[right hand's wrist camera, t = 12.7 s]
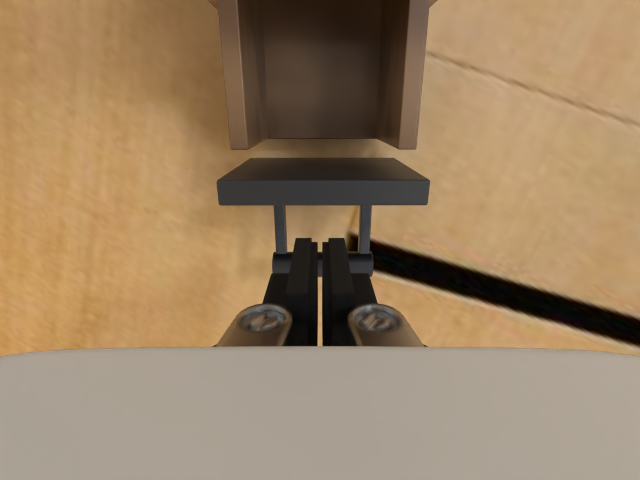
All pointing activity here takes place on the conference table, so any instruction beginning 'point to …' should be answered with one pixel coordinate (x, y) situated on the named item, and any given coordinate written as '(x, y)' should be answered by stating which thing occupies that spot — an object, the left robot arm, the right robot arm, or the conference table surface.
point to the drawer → (323, 105)
